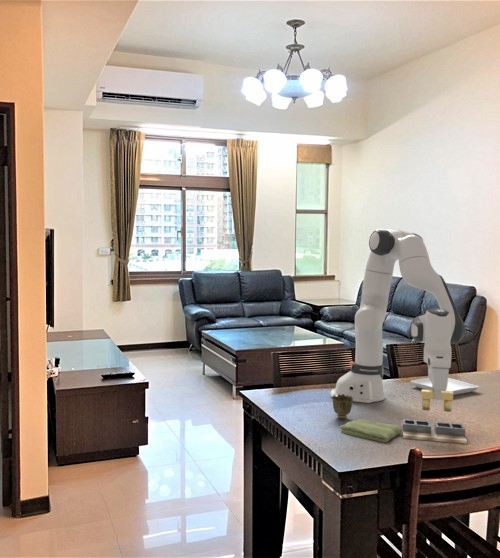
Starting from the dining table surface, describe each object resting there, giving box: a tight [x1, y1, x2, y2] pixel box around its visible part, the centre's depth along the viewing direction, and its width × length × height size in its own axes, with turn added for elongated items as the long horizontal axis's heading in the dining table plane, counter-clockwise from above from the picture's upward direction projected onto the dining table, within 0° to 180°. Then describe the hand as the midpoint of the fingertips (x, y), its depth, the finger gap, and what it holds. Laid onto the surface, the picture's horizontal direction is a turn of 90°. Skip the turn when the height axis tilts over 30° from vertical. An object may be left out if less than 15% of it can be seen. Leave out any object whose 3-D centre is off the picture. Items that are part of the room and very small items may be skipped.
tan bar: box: [420, 389, 454, 413], centre depth 192 cm, size 10×3×6 cm, turn 79°
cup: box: [331, 394, 354, 420], centre depth 207 cm, size 8×7×8 cm
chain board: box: [400, 422, 468, 445], centre depth 192 cm, size 20×13×1 cm, turn 78°
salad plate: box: [410, 377, 480, 396], centre depth 250 cm, size 21×21×3 cm
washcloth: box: [339, 418, 402, 443], centre depth 193 cm, size 13×18×3 cm
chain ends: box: [401, 418, 466, 438], centre depth 192 cm, size 20×5×2 cm, turn 78°
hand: (436, 397), depth 192 cm, fingers closed on tan bar, 3 cm apart
